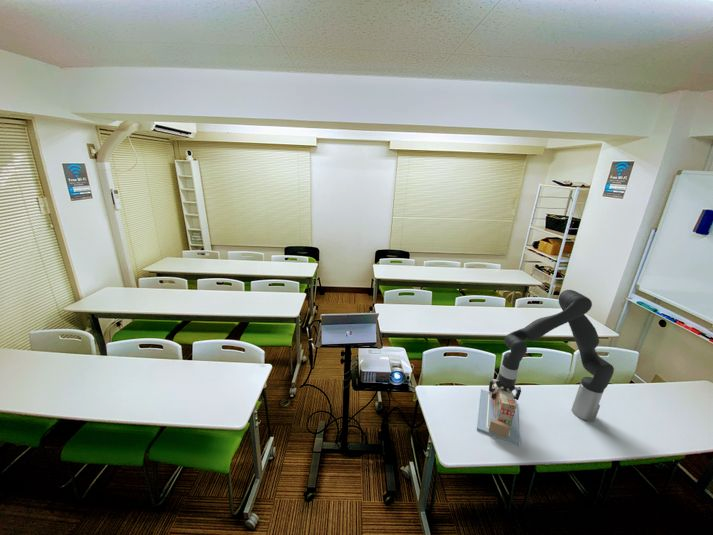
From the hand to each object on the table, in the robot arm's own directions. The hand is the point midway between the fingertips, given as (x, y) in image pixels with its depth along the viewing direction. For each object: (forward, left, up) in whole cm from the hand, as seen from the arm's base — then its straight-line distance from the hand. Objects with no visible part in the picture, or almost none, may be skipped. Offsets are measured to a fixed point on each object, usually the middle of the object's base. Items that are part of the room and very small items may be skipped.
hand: (501, 401), depth 144 cm
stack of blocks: (0, -1, -5) cm, 5 cm away
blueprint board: (0, 0, -9) cm, 9 cm away
